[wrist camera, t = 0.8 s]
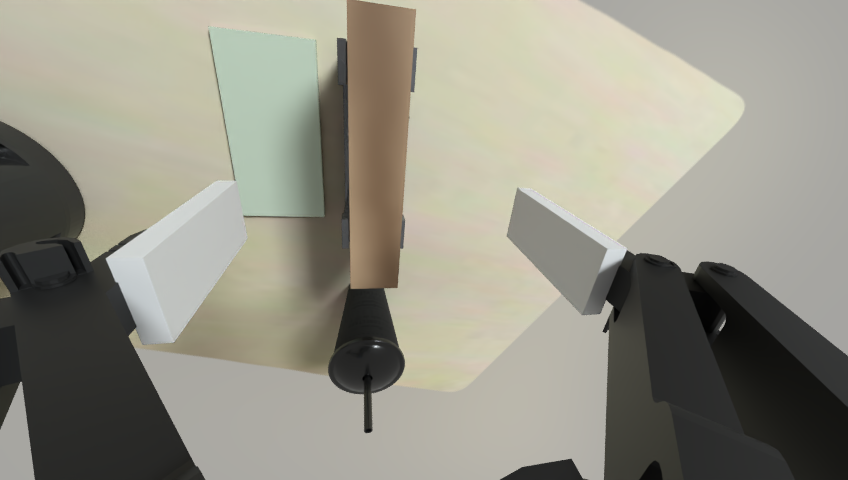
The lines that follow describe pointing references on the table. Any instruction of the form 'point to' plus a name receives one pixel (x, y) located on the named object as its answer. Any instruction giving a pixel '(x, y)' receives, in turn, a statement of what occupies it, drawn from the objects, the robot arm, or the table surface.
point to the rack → (343, 80)
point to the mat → (271, 120)
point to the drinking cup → (366, 348)
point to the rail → (377, 137)
